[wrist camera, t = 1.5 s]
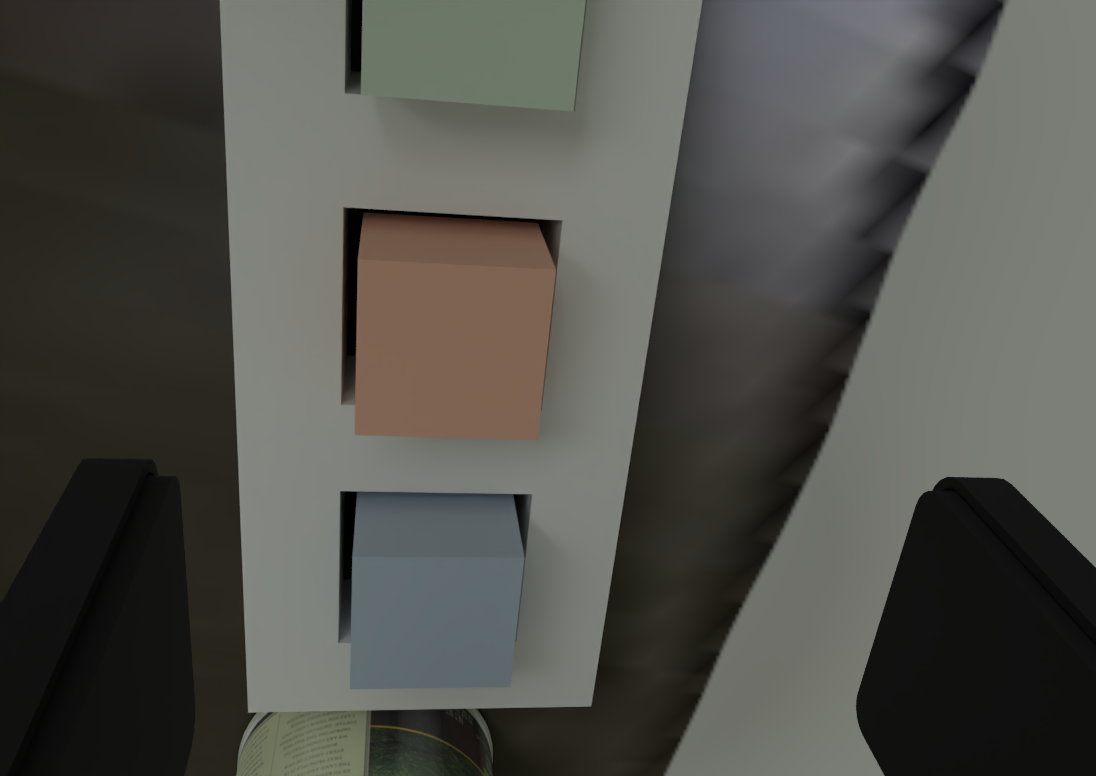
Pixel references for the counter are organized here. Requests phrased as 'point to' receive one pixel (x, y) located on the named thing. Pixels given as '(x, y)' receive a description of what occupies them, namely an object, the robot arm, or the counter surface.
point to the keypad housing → (330, 374)
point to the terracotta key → (451, 327)
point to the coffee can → (367, 743)
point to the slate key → (434, 590)
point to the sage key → (473, 51)
